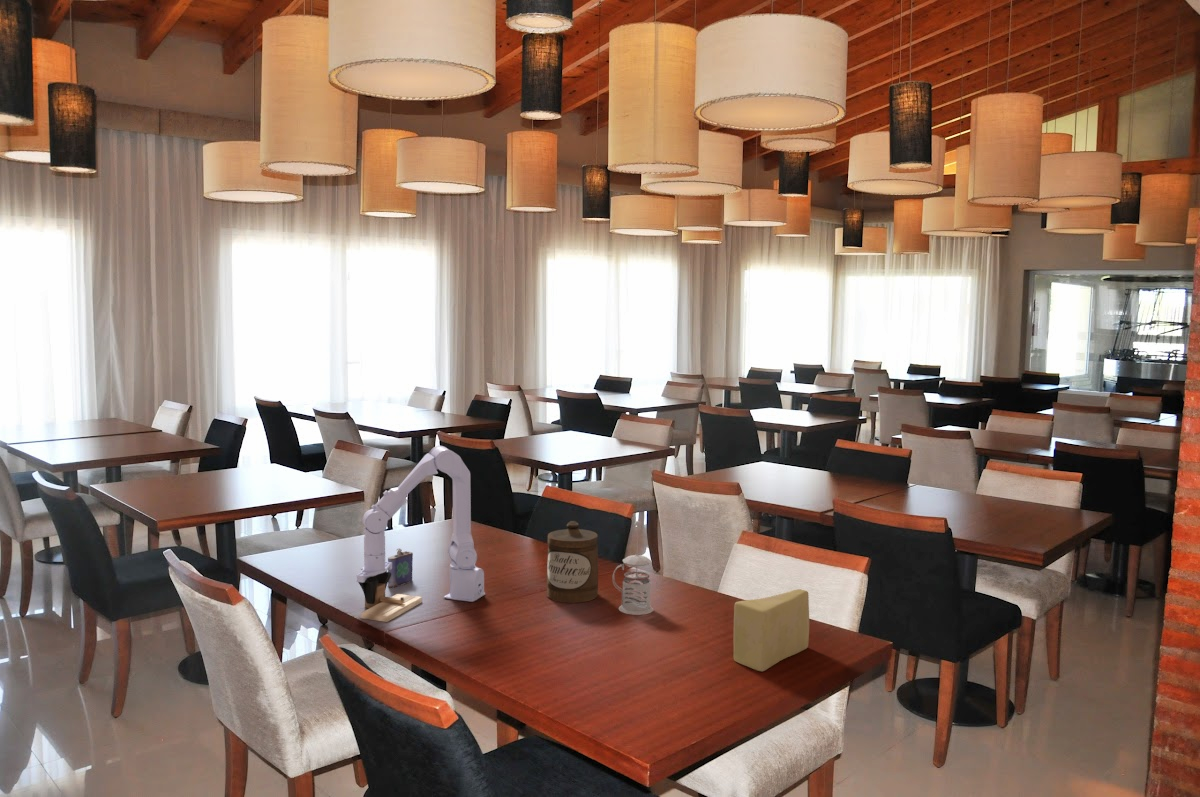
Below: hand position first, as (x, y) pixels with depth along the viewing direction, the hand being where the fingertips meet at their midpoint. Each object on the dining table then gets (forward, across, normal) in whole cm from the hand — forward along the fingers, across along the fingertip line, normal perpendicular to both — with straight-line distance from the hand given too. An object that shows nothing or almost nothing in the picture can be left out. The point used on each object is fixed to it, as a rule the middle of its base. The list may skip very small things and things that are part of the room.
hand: (375, 600), depth 258 cm
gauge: (+1, 0, +3) cm, 4 cm away
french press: (+2, -25, +67) cm, 72 cm away
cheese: (+2, -4, +111) cm, 111 cm away
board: (+1, +1, +6) cm, 7 cm away
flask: (+2, -21, -5) cm, 21 cm away
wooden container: (+2, -30, +47) cm, 56 cm away
